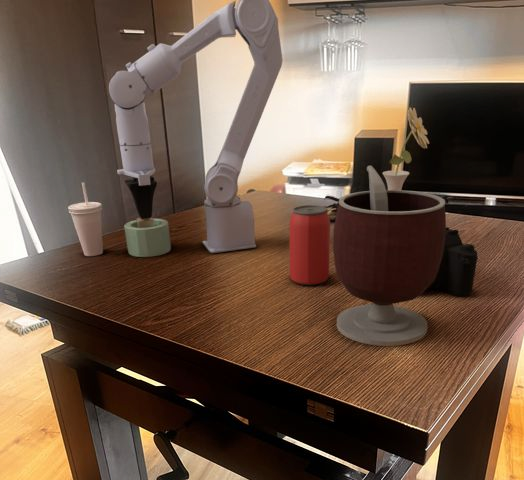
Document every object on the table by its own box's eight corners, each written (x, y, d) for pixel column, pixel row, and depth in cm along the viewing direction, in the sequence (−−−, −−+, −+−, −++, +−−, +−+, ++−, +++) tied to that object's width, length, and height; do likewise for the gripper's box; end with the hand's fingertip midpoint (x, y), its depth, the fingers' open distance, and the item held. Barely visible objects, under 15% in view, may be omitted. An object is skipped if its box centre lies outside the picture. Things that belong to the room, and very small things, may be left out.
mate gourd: (451, 343, 68) (475, 182, 59) (347, 353, 67) (355, 190, 57) (404, 298, 82) (418, 162, 72) (317, 306, 80) (319, 168, 71)
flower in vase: (396, 255, 100) (409, 111, 89) (350, 244, 108) (356, 109, 96) (435, 241, 108) (451, 106, 96) (389, 231, 116) (399, 105, 104)
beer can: (302, 289, 87) (303, 215, 81) (282, 277, 92) (281, 207, 86) (336, 281, 89) (338, 209, 84) (315, 270, 94) (316, 202, 89)
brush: (153, 231, 109) (147, 186, 104) (155, 234, 106) (149, 188, 102) (138, 232, 108) (132, 187, 104) (140, 236, 105) (133, 190, 101)
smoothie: (100, 258, 105) (87, 185, 98) (71, 257, 106) (56, 185, 100) (115, 249, 110) (103, 179, 104) (86, 248, 112) (73, 179, 105)
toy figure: (306, 229, 120) (365, 218, 124) (303, 200, 118) (364, 190, 122) (294, 225, 127) (351, 215, 130) (292, 198, 124) (349, 189, 128)
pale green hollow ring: (167, 242, 113) (164, 216, 111) (174, 253, 106) (171, 226, 104) (126, 247, 111) (122, 221, 109) (130, 259, 104) (126, 231, 101)
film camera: (372, 276, 91) (375, 224, 87) (418, 267, 94) (423, 216, 90) (431, 307, 79) (439, 247, 74) (481, 295, 82) (491, 238, 78)
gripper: (110, 141, 104) (121, 211, 111) (117, 150, 92) (128, 227, 98) (146, 139, 106) (155, 207, 112) (157, 147, 94) (166, 223, 100)
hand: (145, 216), depth 105 cm, fingers closed on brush
